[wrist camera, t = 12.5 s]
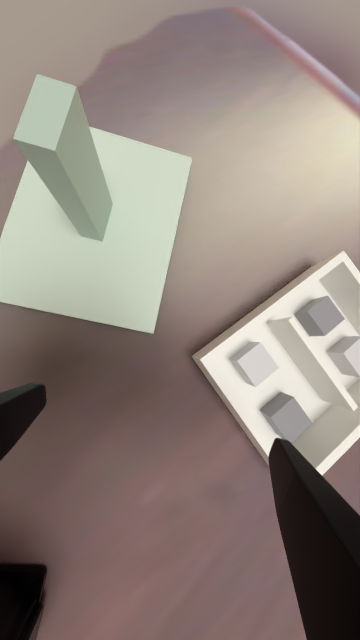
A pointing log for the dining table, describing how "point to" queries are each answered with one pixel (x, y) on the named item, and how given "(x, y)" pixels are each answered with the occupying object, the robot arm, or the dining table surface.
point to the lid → (89, 216)
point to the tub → (295, 365)
